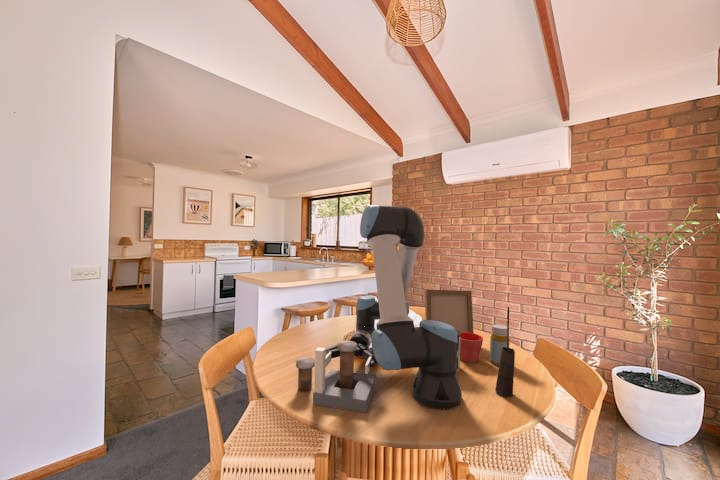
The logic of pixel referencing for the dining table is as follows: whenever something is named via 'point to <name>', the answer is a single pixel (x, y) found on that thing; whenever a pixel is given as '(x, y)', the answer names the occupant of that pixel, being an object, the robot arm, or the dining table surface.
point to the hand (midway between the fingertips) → (344, 366)
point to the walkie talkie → (506, 368)
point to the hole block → (339, 397)
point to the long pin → (346, 363)
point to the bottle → (497, 342)
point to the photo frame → (450, 308)
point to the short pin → (305, 373)
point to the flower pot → (470, 347)
